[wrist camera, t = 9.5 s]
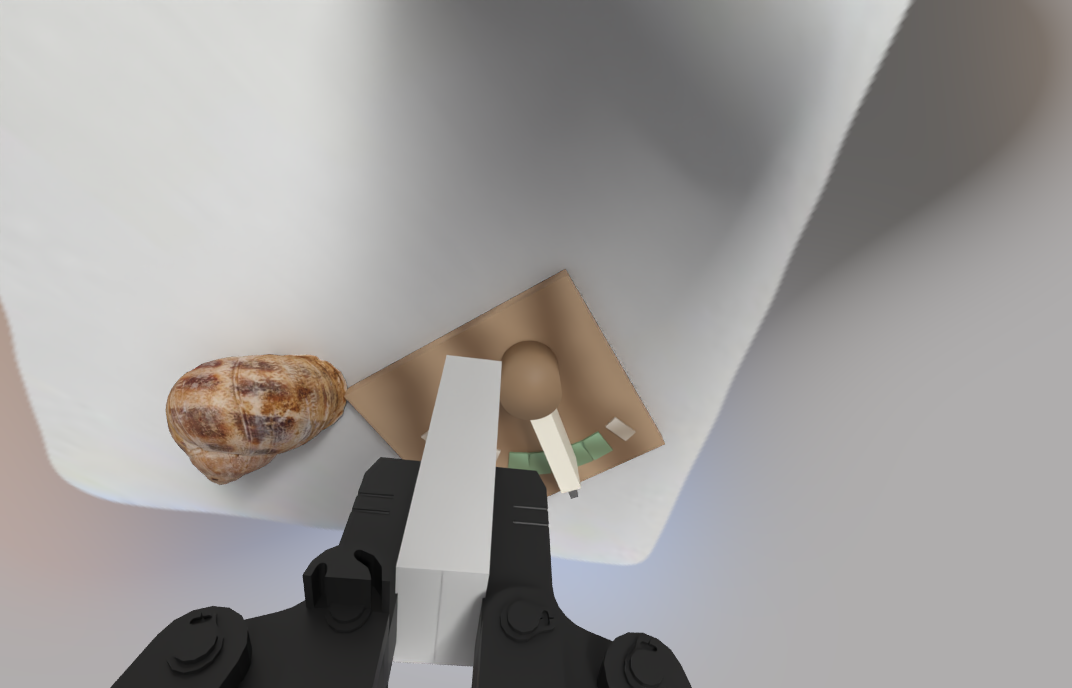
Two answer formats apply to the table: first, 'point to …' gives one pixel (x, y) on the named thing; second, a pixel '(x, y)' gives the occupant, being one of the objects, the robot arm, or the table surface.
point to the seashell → (252, 410)
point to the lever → (540, 405)
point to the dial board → (585, 409)
